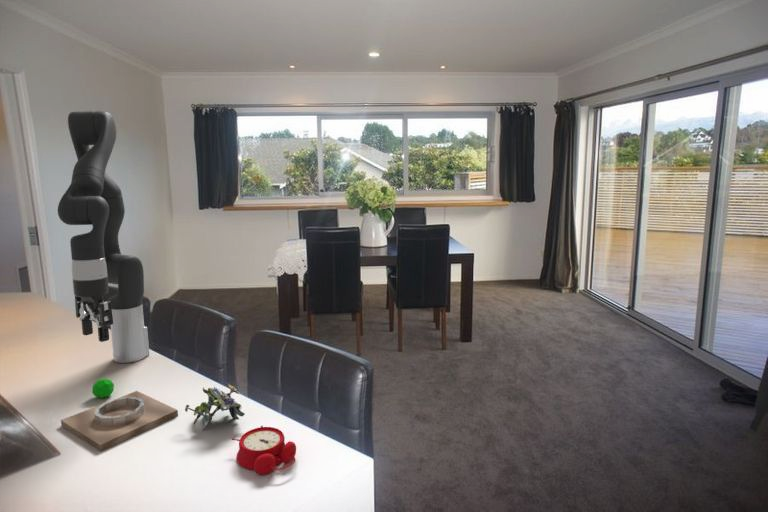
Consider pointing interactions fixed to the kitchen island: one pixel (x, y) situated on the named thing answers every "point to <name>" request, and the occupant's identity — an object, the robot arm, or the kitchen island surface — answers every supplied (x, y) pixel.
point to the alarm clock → (264, 450)
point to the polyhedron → (103, 388)
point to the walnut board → (113, 435)
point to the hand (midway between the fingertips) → (95, 337)
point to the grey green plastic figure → (217, 404)
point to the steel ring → (120, 418)
